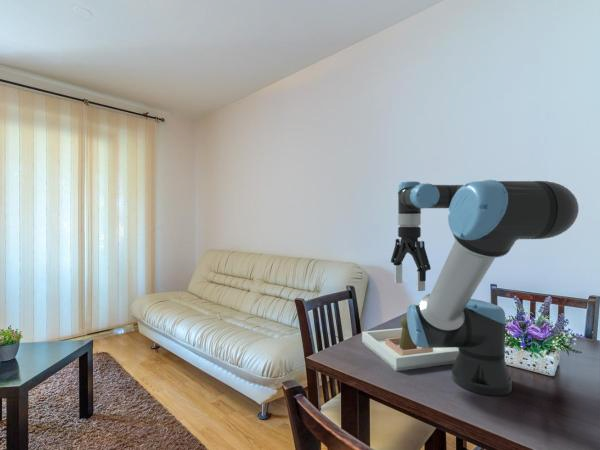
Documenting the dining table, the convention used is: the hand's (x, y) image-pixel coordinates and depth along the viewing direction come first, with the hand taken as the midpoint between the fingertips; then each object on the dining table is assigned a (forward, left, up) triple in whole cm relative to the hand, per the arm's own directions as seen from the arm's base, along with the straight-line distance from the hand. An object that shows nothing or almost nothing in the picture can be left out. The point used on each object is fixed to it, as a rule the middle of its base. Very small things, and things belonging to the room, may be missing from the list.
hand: (408, 286), depth 114 cm
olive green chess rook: (0, 0, -22) cm, 22 cm away
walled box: (0, 0, -23) cm, 23 cm away
